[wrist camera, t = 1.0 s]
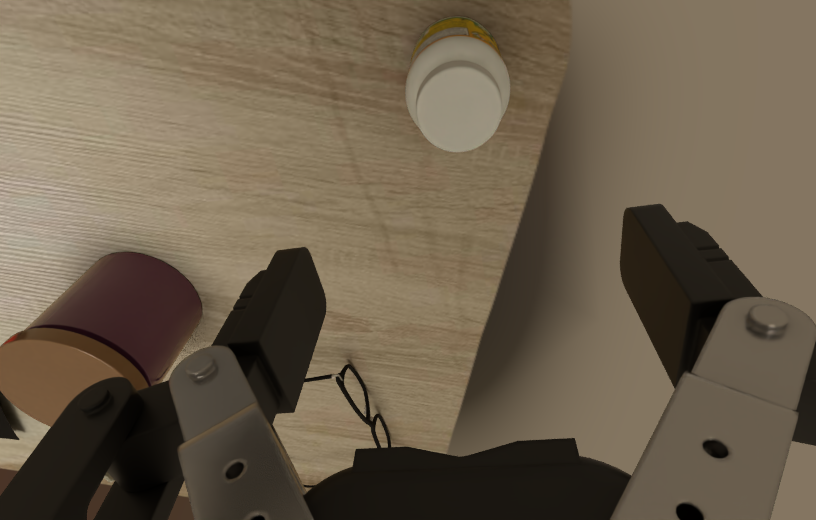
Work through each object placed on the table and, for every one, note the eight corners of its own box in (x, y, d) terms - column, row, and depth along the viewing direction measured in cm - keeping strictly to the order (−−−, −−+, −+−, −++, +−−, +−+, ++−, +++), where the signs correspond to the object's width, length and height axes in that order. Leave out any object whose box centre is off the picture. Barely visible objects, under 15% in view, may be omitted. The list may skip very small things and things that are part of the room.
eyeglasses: (403, 446, 53) (400, 480, 50) (277, 463, 57) (267, 496, 53) (348, 343, 44) (340, 376, 41) (204, 371, 48) (186, 403, 45)
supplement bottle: (401, 30, 29) (385, 68, 21) (489, 2, 28) (506, 32, 20) (425, 115, 32) (418, 176, 24) (505, 93, 31) (526, 150, 23)
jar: (61, 256, 41) (-46, 347, 32) (172, 241, 39) (91, 332, 30) (125, 344, 47) (49, 442, 38) (224, 334, 45) (169, 434, 36)
